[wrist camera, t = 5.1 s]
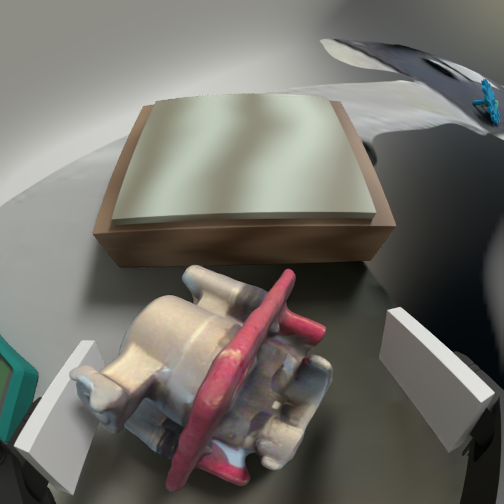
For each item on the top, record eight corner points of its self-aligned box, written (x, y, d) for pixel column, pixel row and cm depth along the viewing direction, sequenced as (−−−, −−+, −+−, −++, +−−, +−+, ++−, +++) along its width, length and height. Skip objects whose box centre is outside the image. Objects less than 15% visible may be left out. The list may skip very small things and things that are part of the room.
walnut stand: (119, 266, 18) (88, 228, 14) (153, 141, 25) (141, 100, 21) (370, 260, 19) (400, 220, 14) (331, 137, 25) (341, 96, 21)
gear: (495, 122, 31) (482, 74, 29) (471, 123, 37) (459, 77, 34) (505, 126, 35) (495, 84, 32) (485, 126, 40) (475, 86, 38)
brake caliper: (306, 520, 9) (76, 550, 2) (181, 439, 16) (26, 370, 9) (391, 339, 14) (305, 150, 7) (250, 313, 21) (135, 202, 14)
